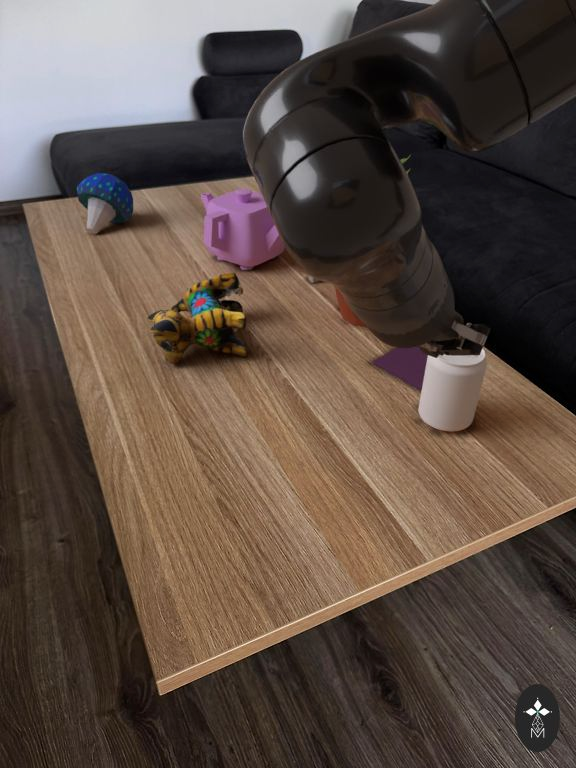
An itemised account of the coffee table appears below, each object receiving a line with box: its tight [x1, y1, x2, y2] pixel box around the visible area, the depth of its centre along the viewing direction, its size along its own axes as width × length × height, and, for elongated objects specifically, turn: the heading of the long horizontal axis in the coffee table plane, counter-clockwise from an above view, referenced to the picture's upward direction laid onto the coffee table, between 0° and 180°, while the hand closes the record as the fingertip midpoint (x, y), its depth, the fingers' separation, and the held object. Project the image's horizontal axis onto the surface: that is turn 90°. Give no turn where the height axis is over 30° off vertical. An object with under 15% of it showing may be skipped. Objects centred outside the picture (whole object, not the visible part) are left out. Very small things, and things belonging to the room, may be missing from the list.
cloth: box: [372, 346, 428, 392], centre depth 99 cm, size 12×11×1 cm
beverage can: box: [417, 347, 488, 432], centre depth 85 cm, size 8×8×12 cm
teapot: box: [200, 188, 286, 271], centre depth 129 cm, size 19×18×15 cm
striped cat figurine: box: [146, 271, 248, 365], centre depth 103 cm, size 20×12×18 cm
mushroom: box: [76, 172, 134, 235], centre depth 144 cm, size 14×14×15 cm
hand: (434, 347), depth 61 cm, fingers closed
